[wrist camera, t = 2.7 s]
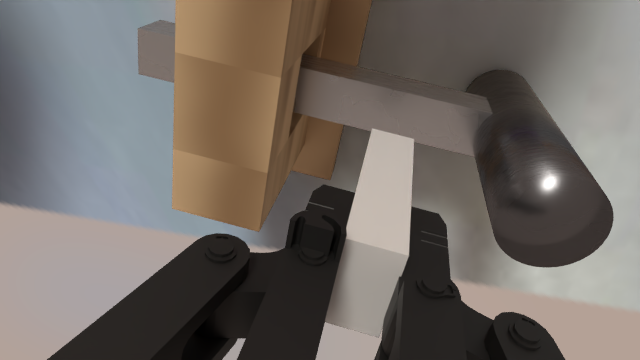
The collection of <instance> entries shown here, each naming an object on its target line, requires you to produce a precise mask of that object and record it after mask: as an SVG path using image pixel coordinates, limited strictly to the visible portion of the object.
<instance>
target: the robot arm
mask: <svg viewBox="0 0 640 360" xmlns="http://www.w3.org/2000/svg"><path fill="white" fill-rule="evenodd" d="M413 154H414V139H412V138H408V137H405V136H401V135H397V134H393V133H389V132H385V131H381V130H377V129H373V128H372V131H371V135H370V138H369V142H368V146H367V150H366V154H365V157H364V161H363V165H362V169H361V172H360V176H359V180H358V184H357V188H356V191H355V193H353V192H350V191H346V190H342V189H338V188H334V187H331V186H327V185H322V186H321V187H319V188H317V189H316V190H314V191H313V193H312V195H311V198H310V200H309V203H308V205H307V207H306V210H305V211H302V212H299V213H297V214H295V215H294V216H293V217H292V218H291V219H290V224H289V229H288V235H287V240H286V246H285V248H284V249H282V250H279V251H276V252H271V253H252V252H250V249H249V248H248V246H247V244H246V243H245V242H244V241H242V240H241V239H239V238H238V237H235V236H232V235H229V234H217V233H216V234H211V235H206V236H204V237H202V238H200V239H198V240H197V241H195V242H194V243H193V244H192V245H190V246H189V247H188V248H186V249H185V250H184V251H183V252H182V253H180V254H179V255H178V256H177V257H175V258H174V259H173V260H171V261H170V262H169V263H168V264H166V265H165V266H164V267H163V268H161V269H160V270H159V271H158V272H156V273H155V274H154V275H153V276H151V277H150V278H149V279H148V280H146V281H145V282H144V283H143V284H141V285H140V286H139V287H138V288H136V289H135V290H134V291H133V292H131V293H130V294H129V295H128V296H126V297H125V298H124V299H123V300H121V301H120V302H119V303H118V304H116V305H115V306H114V307H113V308H111V309H110V310H109V311H107V312H106V313H105V314H104V315H103V316H101V317H100V318H99V319H97V320H96V321H95V322H94V323H92V324H91V325H90V326H89V327H87V328H86V329H85V330H84V331H82V332H81V333H80V334H79V335H77V336H76V337H75V338H74V339H72V340H71V341H70V342H69V343H68V344H66V345H65V346H64V347H62V348H61V349H60V350H59V351H57V352H56V353H55V354H54V355H52V356H51V357H50V358H48V359H47V360H222V359H223V357H224V356H225V355H226V354H227V353H228V352H229V350H230V349H231V348H232V347H233V346H234V344H235V343H236V341H237V339H238V338H246V340H245V342H244V345H243V347H242V349H241V351H240V354H239V356H238V358H237V360H315V359H316V355H317V351H318V347H319V343H320V339H321V335H322V331H323V327H324V323H325V322H327V323H330V324H334V325H337V326H340V327H344V328H347V329H351V330H354V331H358V332H361V333H365V334H368V335H372V336H375V337H379V336H380V333H381V330H382V327H383V331H382V341H381V343H380V346H379V349H378V351H377V354H376V357H375V359H374V360H565V358H564V357H563V355H562V353H561V352H560V350H559V348H558V346H557V345H556V343H555V341H554V339H553V338H552V337H551V335H550V334H549V333H548V332H547V330H546V329H545V328H543V327H542V326H541V325H540V324H538V323H537V322H536V321H535V320H533V319H531V318H529V317H527V316H525V315H521V314H518V313H514V312H504V313H501V314H499V315H498V316H496V317H495V319H494V320H492V319H490V318H488V317H486V316H484V315H482V314H480V313H478V312H477V311H475V310H473V309H472V308H470V307H468V306H467V305H466V304H465V303H464V302H462V301H461V296H460V293H459V290H458V288H457V286H456V285H455V284H454V283H453V282H452V280H451V279H450V266H449V253H448V240H447V227H446V224H445V223H444V221H443V220H442V218H441V217H440V215H439V214H437V213H434V212H430V211H426V210H422V209H419V208H415V207H411V198H412V176H413Z"/></svg>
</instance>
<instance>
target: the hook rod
mask: <svg viewBox="0 0 640 360" xmlns="http://www.w3.org/2000/svg"><path fill="white" fill-rule="evenodd" d="M138 64H139V74H141V75H145V76H149V77H153V78H157V79H161V80H165V81H169V82H173V83H174V75H175V23H172V22H167V21H163V20H159V21H156V22H154V23H151V24H148V25H145V26H143V27H140V28H138ZM293 112H295V113H299V114H303V115H307V116H311V117H315V118H319V119H323V120H327V121H331V122H335V123H339V124H343V125H347V126H351V127H355V128H359V129H363V130H367V131H372V128H373V129H377V130H381V131H385V132H389V133H393V134H397V135H401V136H405V137H408V138H412V139H414V142H416V143H420V144H424V145H428V146H432V147H436V148H440V149H444V150H448V151H452V152H456V153H461V154H465V155H469V156H473V157H475V160H476V164H477V168H478V172H479V176H480V180H481V184H482V188H483V192H484V196H485V201H486V205H487V209H488V213H489V217H490V221H491V225H492V229H493V233H494V236H495V239H496V241H497V243H498V245H499V246H500V248H501V249H502V250H503V251H504V252H505V253H506V254H507V255H508V256H510V257H511V258H513V259H515V260H516V261H519V262H521V263H524V264H527V265H531V266H536V267H558V266H564V265H568V264H571V263H574V262H577V261H579V260H581V259H583V258H585V257H587V256H589V255H590V254H592V253H593V252H594V251H595V250H597V249H598V248H599V247H600V246H601V245H602V244H603V242H604V241H605V240H606V238H607V237H608V235H609V233H610V231H611V228H612V224H613V209H612V206H611V203H610V201H609V199H608V198H607V196H606V195H605V193H604V192H603V190H602V189H601V187H600V186H599V185H598V183H597V182H596V180H595V179H594V177H593V176H592V175H591V173H590V172H589V170H588V169H587V167H586V166H585V164H584V163H583V162H582V160H581V159H580V157H579V156H578V154H577V153H576V152H575V150H574V149H573V147H572V146H571V144H570V143H569V142H568V140H567V139H566V137H565V136H564V134H563V133H562V132H561V130H560V129H559V127H558V126H557V124H556V123H555V122H554V120H553V119H552V117H551V116H550V114H549V113H548V111H547V110H546V109H545V107H544V106H543V104H542V103H541V101H540V100H539V99H538V97H537V96H536V94H535V93H534V91H533V90H532V89H531V87H530V86H529V84H528V83H527V82H526V80H525V79H524V78H523V77H522V76H520V75H519V74H517V73H515V72H512V71H508V70H494V71H490V72H487V73H485V74H482V75H481V76H479V77H478V78H476V79H475V80H474V81H473V82H472V83H471V84H470V85H469V87H468V88H467V90H466V92H462V91H458V90H454V89H449V88H445V87H441V86H437V85H433V84H428V83H424V82H420V81H416V80H412V79H407V78H403V77H399V76H395V75H391V74H386V73H382V72H378V71H374V70H369V69H365V68H361V67H357V66H353V65H348V64H344V63H340V62H336V61H332V60H327V59H323V58H319V57H315V56H311V55H306V54H302V57H301V63H300V69H299V76H298V82H297V88H296V94H295V100H294V106H293Z"/></svg>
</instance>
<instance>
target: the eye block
mask: <svg viewBox="0 0 640 360" xmlns="http://www.w3.org/2000/svg"><path fill="white" fill-rule="evenodd" d="M371 3H372V0H176V17H175V75H174V134H173V193H172V209H176V210H179V211H183V212H187V213H190V214H194V215H198V216H202V217H205V218H209V219H213V220H217V221H220V222H224V223H228V224H232V225H235V226H239V227H243V228H247V229H250V230H254V231H258V232H259V231H260V229H261V227H262V225H263V223H264V221H265V220H266V218H267V216H268V214H269V212H270V210H271V208H272V206H273V204H274V202H275V200H276V198H277V196H278V194H279V193H280V191H281V189H282V187H283V185H284V183H285V181H286V179H287V177H288V175H289V173H290V171H291V170H292V171H296V172H300V173H304V174H308V175H311V176H315V177H319V178H323V179H327V180H330V179H331V176H332V173H333V169H334V165H335V161H336V156H337V152H338V148H339V143H340V139H341V134H342V130H343V126H344V125H343V124H339V123H335V122H331V121H327V120H323V119H319V118H315V117H311V116H307V115H303V114H299V113H295V112H293V106H294V100H295V94H296V88H297V82H298V76H299V69H300V63H301V57H302V54H306V55H311V56H315V57H319V58H323V59H327V60H332V61H336V62H340V63H344V64H348V65H353V66H357V64H358V60H359V56H360V51H361V47H362V42H363V38H364V34H365V29H366V25H367V21H368V16H369V12H370V7H371Z"/></svg>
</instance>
